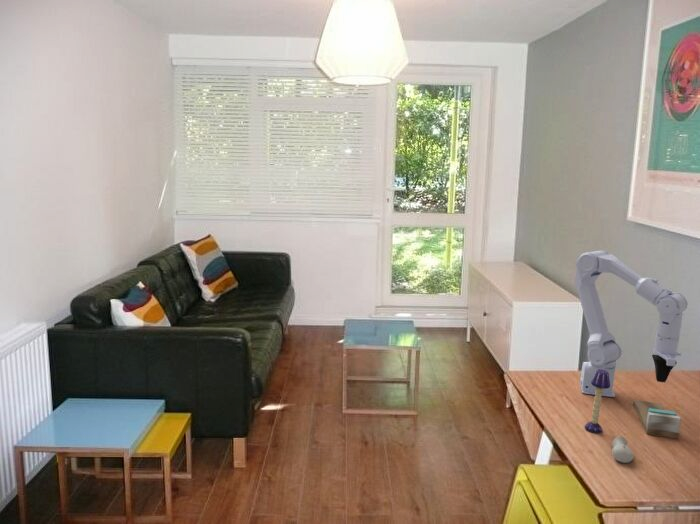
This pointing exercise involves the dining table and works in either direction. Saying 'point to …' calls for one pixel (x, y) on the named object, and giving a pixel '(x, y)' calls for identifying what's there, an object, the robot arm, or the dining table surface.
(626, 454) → the pale two-lobed sculpture
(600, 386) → the toy lamp
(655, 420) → the clamp board
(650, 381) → the dining table surface
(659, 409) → the sliding jaw
